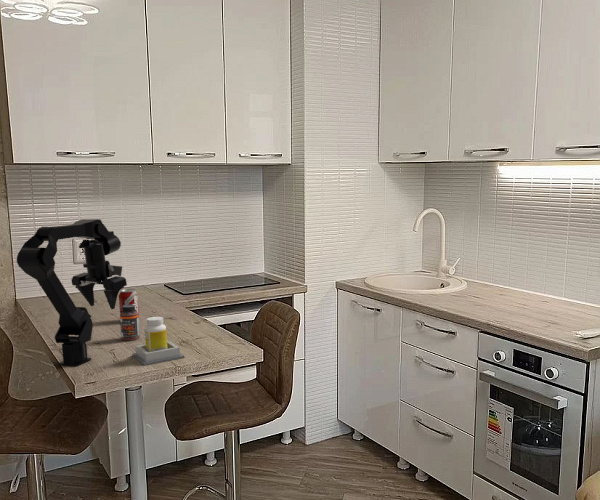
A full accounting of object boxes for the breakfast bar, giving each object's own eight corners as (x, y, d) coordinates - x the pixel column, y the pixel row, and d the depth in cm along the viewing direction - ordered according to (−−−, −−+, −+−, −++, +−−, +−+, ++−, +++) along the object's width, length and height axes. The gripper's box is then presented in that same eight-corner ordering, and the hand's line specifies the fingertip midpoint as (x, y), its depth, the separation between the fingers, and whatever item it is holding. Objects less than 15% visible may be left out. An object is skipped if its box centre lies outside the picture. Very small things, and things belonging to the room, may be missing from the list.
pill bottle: (172, 352, 174) (169, 316, 172) (159, 358, 168) (156, 321, 167) (155, 350, 176) (153, 315, 175) (142, 356, 171) (139, 320, 169)
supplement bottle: (121, 342, 190) (118, 308, 189) (121, 337, 196) (119, 304, 194) (140, 340, 192) (137, 306, 190) (139, 335, 197) (137, 303, 196)
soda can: (120, 324, 215) (117, 292, 213) (120, 320, 221) (118, 289, 220) (139, 322, 216) (137, 290, 215) (139, 318, 223) (137, 287, 221)
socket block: (144, 365, 164) (143, 355, 164) (132, 355, 174) (131, 345, 174) (184, 357, 170) (183, 347, 170) (170, 348, 180) (170, 339, 180)
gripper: (136, 255, 181) (142, 302, 184) (95, 251, 190) (102, 296, 193) (108, 264, 171) (116, 313, 175) (66, 259, 181) (74, 307, 184)
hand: (102, 307), depth 182 cm, fingers open, 9 cm apart
